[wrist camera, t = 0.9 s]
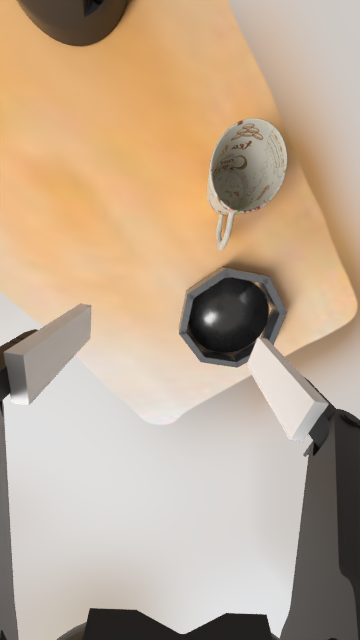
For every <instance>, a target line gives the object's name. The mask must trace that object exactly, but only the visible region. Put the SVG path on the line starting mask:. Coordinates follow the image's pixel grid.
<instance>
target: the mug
mask: <svg viewBox="0 0 360 640" xmlns="http://www.w3.org/2000/svg"><path fill="white" fill-rule="evenodd" d="M286 168H287V151H286V146H285V143H284V140H283V138H282V136H281V134H280V133H279V131H278V130H277V129H276V128H275V127H274V126H273V125H272V124H271V123H269V122H267V121H265V120H262V119H257V118H250V119H245V120H242V121H239V122H237V123H236V124H234V125H233V126H231V127H230V128H229V129H228V130H227V131H226V132H225V133H224V134H223V135H222V137H221V138H220V139H219V141H218V143H217V145H216V147H215V149H214V151H213V154H212V157H211V162H210V167H209V177H208V186H207V200H208V203H209V205H210V207H211V208H212V209H213V210H214V211H215V212H216V213H218V214H220V217H219V220H218V225H217V230H216V242H217V247H218V249H219V250H222V249H223V248H224V247H225V246H226V244H227V242H228V239H229V237H230V234H231V230H232V225H233V220H234V215H235V214H244V213H250V212H253V211H256V210H258V209H260V208H262V207H263V206H265V205H266V204H267V203H268V202H269V201H270V200H271V199H272V198H273V197H274V196H275V195H276V193H277V192H278V190H279V188H280V187H281V184H282V182H283V180H284V177H285V173H286ZM223 215H228V219H227V225H226V230H225V233H224V236H223V239H222V238H221V232H222V223H223Z"/></svg>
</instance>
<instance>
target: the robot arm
mask: <svg viewBox="0 0 360 640" xmlns="http://www.w3.org/2000/svg"><path fill="white" fill-rule="evenodd" d="M17 2H18V3H19V5H20V6H21V8H22V9H23V11H24V12H25V13H26V14H27V16H28V17H29V18H30V19H31V20H32V22H33V23H34V24H35V25H36V26H37V27H38V28H40V29H41V30H42V31H43V32H44V33H46V34H47V35H49V36H50V37H52V38H53V39H55V40H57V41H59V42H62V43H65V44H68V45H74V46H84V45H89V44H92V43H95V42H97V41H99V40H101V39H102V38H103V37H105V36H106V35H107V34H108V33H109V32H110V31H111V30H112V29H113V28H114V26H115V25H116V24H117V22H118V21H119V19H120V17H121V15H122V13H123V11H124V9H125V6H126V3H127V0H17ZM90 330H91V305H86V304H79V305H78V306H76V307H75V308H73V309H71V310H70V311H68V312H67V313H65V314H63V315H62V316H60V317H59V318H57V319H55V320H54V321H52V322H51V323H49V324H47V325H46V326H44V327H43V328H41V329H40V330H31V331H28V332H25V333H23V334H21V335H19V336H18V337H16V338H14V339H12V340H11V341H10V342H7V343H6V344H4V345H2V346H0V640H18V630H17V619H16V611H15V604H14V591H13V590H14V589H13V571H12V553H11V535H10V516H9V498H8V480H7V461H6V445H5V444H6V443H5V427H4V426H5V425H4V406H3V401H2V400H3V399H4V398H5V397H6V396H7V395H8V394H10V395H11V402H12V403H17V404H24V405H30V404H31V403H32V402H33V400H34V399H35V398H36V397H37V396H38V395H39V394H40V393H41V392H42V390H43V389H44V388H45V387H46V386H47V385H48V384H49V383H50V382H51V381H52V379H54V377H55V376H56V375H57V374H58V373H59V372H60V371H61V370H62V369H63V367H64V366H65V365H66V364H67V363H68V362H69V361H70V360H71V359H72V358H73V357H74V355H75V354H76V353H77V352H78V351H79V350H80V349H81V348H82V347H83V346H84V344H85V343H86V342H87V341H88V340H89V339H90ZM247 367H248V369H249V370H250V372H251V374H252V376H253V377H254V379H255V381H256V383H257V384H258V386H259V388H260V389H261V391H262V393H263V394H264V396H265V398H266V400H267V401H268V403H269V405H270V407H271V408H272V410H273V412H274V414H275V415H276V417H277V419H278V420H279V422H280V424H281V426H282V427H283V429H284V431H285V432H286V434H287V436H288V438H289V439H290V440H292V441H299V442H303V441H304V440H305V438H306V437H307V436H308V434H309V435H310V436H311V438H312V439H313V442H312V443H311V445H310V446H309V447H308V449H307V450H306V452H305V453H304V456H305V457H306V455H309V457H308V466H307V475H306V482H305V490H304V499H303V507H302V515H301V524H300V532H299V540H298V549H297V557H296V565H295V575H294V583H293V591H292V599H291V606H290V611H289V614H288V617H287V619H286V622H285V624H284V627H283V629H282V632H281V636H280V639H279V638H278V637H276V636H275V635H274V634H272V633H271V631H270V627H269V623H268V619H267V615H262V614H234V613H226V614H224V615H222V616H220V617H218V618H216V619H214V620H212V621H210V622H208V623H206V624H204V625H202V626H201V627H198V628H197V629H195V630H193V631H191V632H189V633H187V634H179V633H177V632H175V631H173V630H172V629H170V628H168V627H166V626H164V625H163V624H161V623H159V622H157V621H155V620H154V619H152V618H150V617H148V616H146V615H145V614H143V613H141V612H139V611H137V610H123V609H122V610H121V609H95V608H90V611H89V615H88V619H87V622H86V623H83V624H81V625H79V626H77V627H75V628H73V629H72V630H70V631H68V632H67V633H65V634H64V635H62V636H61V637H59V638H58V639H57V640H360V420H359V419H358V418H357V417H355V416H354V415H352V414H350V413H349V412H346V411H344V410H341V409H336V408H335V407H334V406H333V405H332V404H331V403H330V402H329V401H328V400H327V399H326V398H325V397H324V396H323V395H322V394H321V393H319V391H318V390H317V389H316V388H314V386H313V385H312V383H311V382H310V381H309V380H307V379H306V378H304V377H303V376H302V375H301V374H300V373H299V372H298V371H297V370H296V369H295V368H294V367H293V366H292V365H291V364H290V363H289V361H288V360H287V359H286V358H285V357H284V356H283V355H282V354H281V353H280V352H279V351H278V350H277V349H276V348H275V347H274V346H273V345H272V344H271V343H270V342H269V341H268V339H265V338H260V337H258V338H257V341H256V343H255V346H254V348H253V351H252V353H251V355H250V358H249V360H248V363H247Z"/></svg>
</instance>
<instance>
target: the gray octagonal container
mask: <svg viewBox="0 0 360 640" xmlns="http://www.w3.org/2000/svg"><path fill="white" fill-rule="evenodd" d="M227 276H228V277H233V278H225V277H227ZM247 280H249V281H254V282H258V283H259V285H260V287H261V289H262V291H263V293H264V294H263V293H262V291H261V290H260V289H259V288H258V287H257V286H256V285H254V284H253V283H251V282H249V281H247ZM264 295H265V296H266V298H267V300H268V302H269V304H270V306H271V308H272V310H271V312H270V315H269V317H268V304H267V300H266V298H265V296H264ZM193 298H195V299H194V300H193ZM286 314H287V311H286V309H285V307H284V305H283V303H282V301H281V299H280V297H279V295H278V293H277V291H276V289H275V287H274V285H273V283H272V281H271V279H270V277H268V276H265V275H262V274H257V273H251V272H246V271H241V270H236V269H231V268H226V267H221V268H219V269H218V270H216V271H215V272H213V273H212V274H210V275H209V276H207V277H206V278H204V279H203V280H201V281H200V282H198V283H197V284H195V285H194V286H192V287H191V288H189V289H188V290H186V295H185V300H184V305H183V310H182V315H181V320H180V324H179V334H180V335H181V337H182V338H183V339H184V341H185V342H186V343H187V345H188V346H189V347H190V349H191V350H192V351H193V352H194V354H195V355H196V356H197V358H198V359H199V360H200V362H204V363H210V364H217V365H224V366H230V367H239V366H241V365H243V364H245V363H247V362H248V360H249V358H250V355H251V353H252V351H253V348H254V346H255V343H256V341H255V340H256V339H257V338H258V337H259V336H260V334H261V333H262V331H263V333H262V336H261V338H265V339H268V341H269V342H270V343H271V344H272V345H274V342H275V340H276V338H277V335H278V333H279V330H280V328H281V326H282V323H283V321H284V318H285V316H286ZM267 319H268V320H267ZM188 321H189V325H190V329H191V332H192V334H193V336H194V337H195V339H196V340H197V341H198V342H199V343H200V344H201V345H202V346H204V347H205V348H207V349H209V350H212V351H209V350H203V349H202V348H201V347H200V345H199V344H198V343H197V341H196V340H195V339H194V337H193V336H192V334H191V333H190V332H189V330H188V329H187V326H188ZM254 341H255V342H254ZM251 343H252V344H251ZM238 350H239V351H238ZM215 351H216V352H215ZM234 351H237V352H236V353H234V354H228V353H226V352H234ZM221 352H222V353H221Z"/></svg>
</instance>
